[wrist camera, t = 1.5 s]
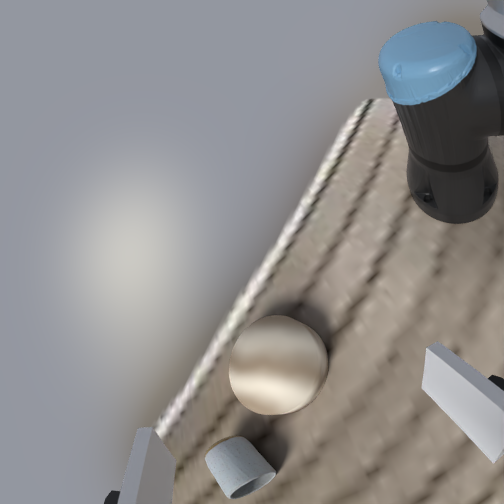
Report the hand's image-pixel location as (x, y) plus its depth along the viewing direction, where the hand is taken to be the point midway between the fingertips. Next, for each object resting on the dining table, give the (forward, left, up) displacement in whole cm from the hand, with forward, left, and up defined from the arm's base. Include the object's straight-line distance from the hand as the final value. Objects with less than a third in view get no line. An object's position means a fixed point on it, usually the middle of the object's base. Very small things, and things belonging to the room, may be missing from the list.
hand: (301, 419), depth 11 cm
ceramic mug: (+15, -17, -24) cm, 33 cm away
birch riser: (-2, -16, -24) cm, 29 cm away
